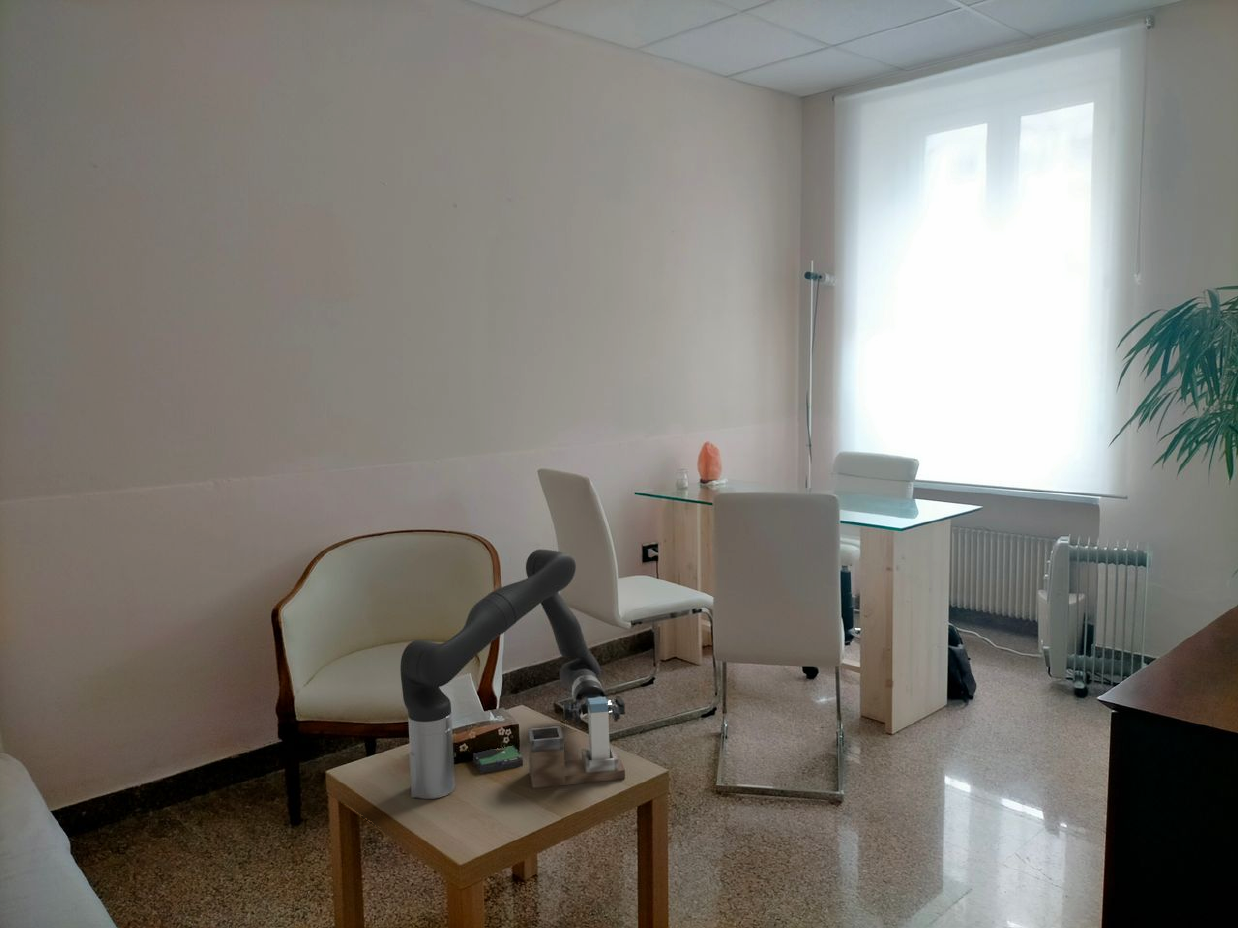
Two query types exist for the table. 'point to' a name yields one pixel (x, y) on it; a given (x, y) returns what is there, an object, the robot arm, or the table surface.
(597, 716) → the plug
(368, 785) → the table surface
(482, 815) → the table surface
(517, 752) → the disk drive
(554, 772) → the square socket stand
